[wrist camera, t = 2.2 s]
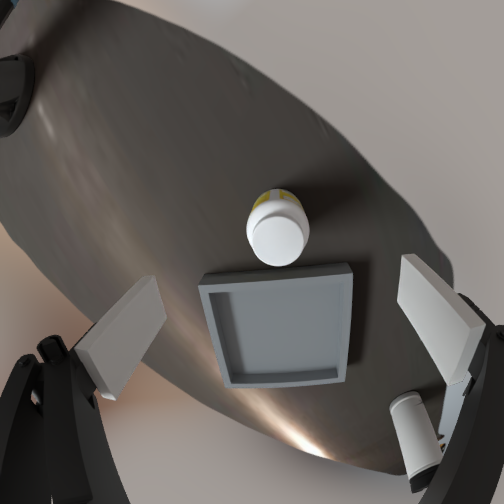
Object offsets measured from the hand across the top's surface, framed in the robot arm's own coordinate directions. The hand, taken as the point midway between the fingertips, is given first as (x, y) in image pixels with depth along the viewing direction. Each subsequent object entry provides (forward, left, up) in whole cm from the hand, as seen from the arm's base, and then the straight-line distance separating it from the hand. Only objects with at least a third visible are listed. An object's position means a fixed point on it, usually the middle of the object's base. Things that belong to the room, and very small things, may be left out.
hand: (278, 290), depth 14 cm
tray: (+15, -1, -17) cm, 23 cm away
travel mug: (+36, +21, -17) cm, 45 cm away
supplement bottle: (0, 0, -17) cm, 17 cm away
